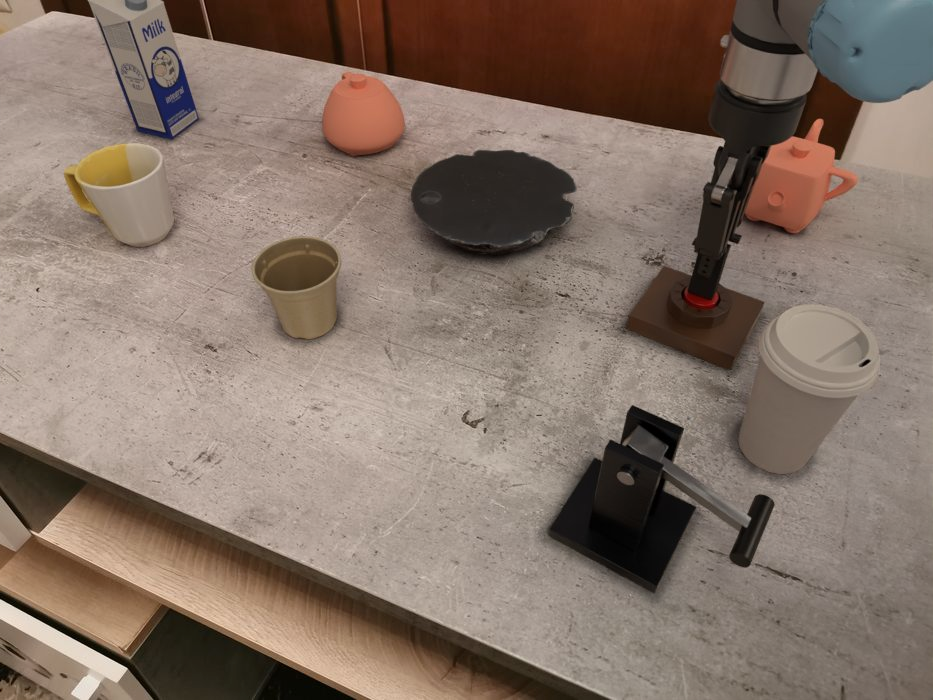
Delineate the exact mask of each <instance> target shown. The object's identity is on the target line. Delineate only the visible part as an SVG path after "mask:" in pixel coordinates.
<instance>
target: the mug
mask: <svg viewBox="0 0 933 700" xmlns="http://www.w3.org/2000/svg"><path fill="white" fill-rule="evenodd" d="M63 176H64V179H65V182H66V185H67V188H68V190H69V191H70V194H71V195H72V197H73V199H74V201H75V203H76V204H77V205H78V206H79V208H80V209H81V210H83V212H86V213H89V214H92V215H94V216H99V217H100V219H101V220H102V222H103V223H104V224H105V226H106V227H107V229H108V231H109V232H110V234H111V235H112V236H113V238H114V239H115V240H117V241H118V242H121V243H123V244H126V245H128V246H131V247H135V248H136V247H137V248H143V247H149V246H153V245H155V244H158V243H160V242H161V241H163V240H164V239H165V238H166V237H167V236H168V234H169V233H170V231H171V230H172V228H173V226H174V222H175V215H174V210H173V205H172V200H171V194H170V188H169V187H170V186H169V183H168V176H167V170H166V165H165V159H164V156H163V154H162V152H161V151H160V150H159V149H157V148H156V147H155V146H152V145H149V144H145V143H139V142H129V143H128V142H127V143H119V144H114V145H109V146H106V147H103V148H102V147H101V148H100V149H97V150H95V151H93V152H91V153H89V154H88V155H86V156H85V157H83V158H82V159H81V160H80V161H79V162H78V164H72V165H69V166H67V167H66V168H65V169H64V171H63Z"/></svg>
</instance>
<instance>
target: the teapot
mask: <svg viewBox="0 0 933 700" xmlns="http://www.w3.org/2000/svg"><path fill="white" fill-rule="evenodd" d="M823 127H824V119H822V118H817V119H816V120H815V121H814V122H813V124H812V125H811V127H810V129H809V130H808V132H807V134H806V136H805V137H804V138H801V137H797V136H794V135H793V136H792V137H791V138H789V139H788V140H787V141H785V142H783V143H780V144H777V145H772V146H771V148H770V151H769V154H768V156H767V158H766V160H765V161H764V163H763V164H762V167H761V170H760V173H759V176H758V179H757V180H756V182H755V185H754V188H753V190H752V193H751V196H750V199H749V202H748V204H747V207H746V210H745V213H744V215H745V216H746V218H747V219H748V220H750V221H752V222H760V221H762V222H766V223H769V224H773V225H776V226H779V227H782V228H783V229H784V230H785V231H786V232H788V233H790V234H798V233H800V232H801V231H802V230H804V229H805V228H807V227H808V226H809V225H810V224H811V222H812V221H813V220H814V219H815V218H816V217H817V215H818V214H819V213H820V211H821V210H822V209H823V206H824V204H825V202H828V201H830V200H832V199H836V198H837V197H840V196H842V195H844V194H846V193H848V192H849V191H851V190H852V189H853V188H855V186H856V185H857V184H858V182H859V177H858V176H857V174H856V173H854V172H852V171H850V170H848V169H844V168H841V167H835V165H834V164H835V157H836V151H835V148H834V147H832V146H831V145H826V144H823V143H820V142H819V138H820V134H821V130H822V129H823ZM833 176H834V177H837V178H840V179H842V180H843V181H842V182H841V183H840V184H839V185H838V186H836V187H835V188H834V189H832V190H830V187H831V183H832V177H833ZM829 190H830V191H829Z"/></svg>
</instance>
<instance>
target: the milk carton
mask: <svg viewBox="0 0 933 700" xmlns="http://www.w3.org/2000/svg"><path fill="white" fill-rule="evenodd" d="M87 2H88V4H89V6H90V9H91V11H92V14H93V17H94V20H95V22H96V25H97V27H98V31H99V33H100V36H101V38H102V40H103V41H102V42H103V43H104V46H105V49H106V51H107V54H108V57H109V59H110V62H111V65H112V67H113V70H114V72H115V75H116V78H117V81H118V83H119V86H120V88H121V91H122V94H123V96H124V99H125V102H126V105H127V107H128V110H129V113H130V115H131V118H132V120H133V123H134V125H135V128H136V131H137V132H139V133H142V134H147V135H151V136H155V137H159V138H164V139H167V140H171V141H172V140H173V139H174V138H176V137H178V135H180V134H181V133H183V132H184V131H186V130H187V129H188V128H189V127H191V126H192V125H193V124H195V123H196V122H197V121H199V120H200V117H199V115H198V114H199V113H198V110H197V107H196V104H195V100H194V98H193V94H192V91H191V87H190V84H189V81H188V78H187V75H186V71H185V68H184V65H183V61H182V58H181V55H180V51H179V49H178V45H177V41H176V39H175V36H174V32H173V29H172V25H171V23H170V19H169V16H168V12H167V9H166V6H165V1H163V0H87Z"/></svg>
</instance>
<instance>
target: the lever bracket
mask: <svg viewBox="0 0 933 700" xmlns="http://www.w3.org/2000/svg"><path fill="white" fill-rule="evenodd" d="M638 425H640V426H641V427H643V428H644V429H645V430H647V431H648V432H650V433H651V434H653V435H654V436H655V437H657V438H658V439H660V440H661V441H663V442H664V443H665V444H667V445H668V446H669V447H668V449H667V450H666V452H665V454H664V457H666V458H667V459H669V460H670V461H671V462H673V463H675V459H676V456H677V453H678V449H679V447H680V444H681V441H682V437H683V434H684V432H685V428H684V427H683V426H680V424H677V423H674V422H672V421H670V420H667V419H665V418H664V417H663V418H662V417H661V416H658V415H656V414H653V413H651V412H650V411H648V410H645V409H643V408H641V407H638V406H636V405H633V404H632V405H631V406H630V407H629V409H628V410H627V411H626V416H625V419H624V425H623V429H622V433H621V436H620V442H617V441H616V440H613V439H609V440H608V442H607V443H606V445H605V447H604V451H603V456H602V459H599V458H597V457H593V459H592V460H591V463H590V464H589V465H588V467H587V468H586V470H585V471H584V473H583V475H582V476H581V478H580V479H579V481H578V483H577V484H576V486H575V487H574V489H573V491H572V492H571V494H570V495H569V497H568V499H567V500H566V502H565V503H564V505H563V506H562V508H561V509H560V511H559V513H558V514H557V516H556V517H555V518H554V521H553V522H552V524H551V525H550V526H549V528H548V537H550V538H552V539H554V540H555V541H557V542H559V543H561V544H562V545H564V546H566V547H568V548H570V549H572V550H573V551H575V552H578V553H579V554H581V555H583V556H585V557H586V558H588V559H590V560H592V561H594V562H596V563H598V564H599V565H601V566H603V567H605V568H606V569H609V570H611V571H612V572H614V573H616V574H618V575H619V576H621V577H622V578H625V579H627V580H629V581H630V582H632V583H634V584H636V585H637V586H639V587H642V589H645V590H647V591H649V592H651V593H652V594H656V592H657V590H658V589H659V586H660V584H661V582H662V580H663V578H664V577H665V574H666V572H667V570H668V568H669V565H670V564H671V561H672V559H673V557H674V556H675V554H676V552H677V549H678V547H679V545H680V543H681V541H682V539H683V538H684V535H685V533H686V531H687V529H688V527H689V524H690V523H691V521H692V519H693V517H694V515H695V512H696V510H697V506H696V505H693V503H690V502H688V501H686V500H684V499H682V498H679V497H678V496H675V495H674V494H672V493H669V492H667V491H665V489H666V486H667V483H668V481H667V480H665V479H664V478H662V477H661V474H662V471H663V468H664V464H662V463H660V462H658V461H656V460H654V459H651V458H649V457H647V456H645V455H643V454H641V453H639V452H637V451H634V450H632V449H630V448H628V447H626V446H624V445H622V444H623V442H624V441H625V439H626V438H627V437H628V436H629V435H630V433H631V432H632V431H633V430H634V429H635V428H636V427H637V426H638Z"/></svg>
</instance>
